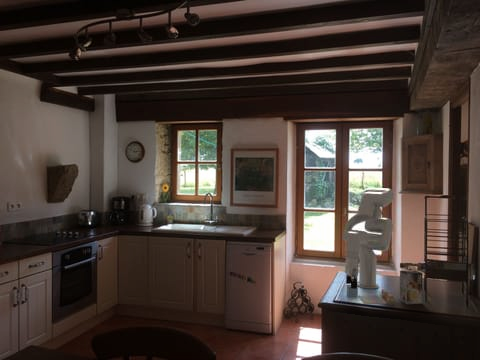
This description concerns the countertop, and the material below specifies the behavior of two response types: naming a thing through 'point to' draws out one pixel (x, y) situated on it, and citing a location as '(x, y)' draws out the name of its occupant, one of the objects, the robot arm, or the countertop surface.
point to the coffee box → (411, 287)
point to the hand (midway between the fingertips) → (351, 286)
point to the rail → (387, 296)
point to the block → (351, 291)
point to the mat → (372, 299)
